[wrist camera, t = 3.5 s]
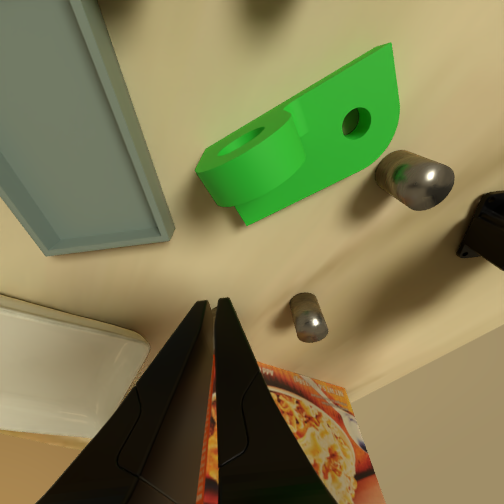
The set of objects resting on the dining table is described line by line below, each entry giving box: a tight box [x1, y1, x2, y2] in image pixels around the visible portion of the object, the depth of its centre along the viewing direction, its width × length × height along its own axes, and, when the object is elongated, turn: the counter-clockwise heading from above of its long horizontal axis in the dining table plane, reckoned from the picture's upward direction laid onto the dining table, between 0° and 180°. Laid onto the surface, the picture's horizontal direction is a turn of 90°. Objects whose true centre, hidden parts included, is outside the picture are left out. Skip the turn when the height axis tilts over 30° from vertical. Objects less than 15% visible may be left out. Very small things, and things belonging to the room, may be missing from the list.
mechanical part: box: [195, 43, 400, 226], centre depth 14 cm, size 12×6×8 cm, turn 118°
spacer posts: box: [212, 150, 455, 355], centre depth 17 cm, size 19×31×4 cm, turn 7°
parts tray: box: [0, 0, 175, 256], centre depth 15 cm, size 10×16×2 cm, turn 7°
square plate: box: [0, 295, 150, 438], centre depth 28 cm, size 27×27×4 cm
